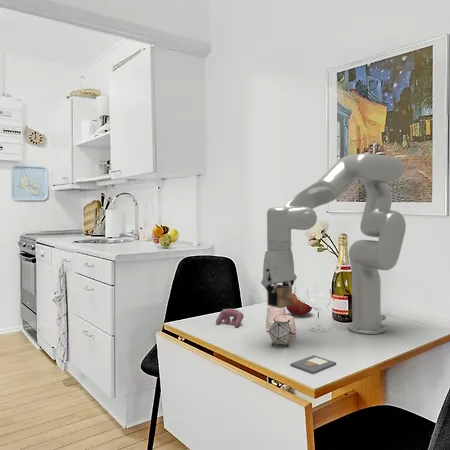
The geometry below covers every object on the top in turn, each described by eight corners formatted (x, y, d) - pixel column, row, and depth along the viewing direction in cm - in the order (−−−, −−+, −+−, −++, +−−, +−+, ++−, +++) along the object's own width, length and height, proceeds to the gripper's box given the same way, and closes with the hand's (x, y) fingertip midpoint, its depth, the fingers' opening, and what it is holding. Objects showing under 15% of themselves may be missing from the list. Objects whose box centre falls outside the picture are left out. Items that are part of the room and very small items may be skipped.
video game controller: (242, 330, 161) (246, 311, 164) (236, 327, 158) (240, 308, 160) (220, 326, 167) (224, 308, 169) (214, 323, 163) (218, 305, 165)
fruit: (309, 311, 179) (309, 287, 179) (316, 318, 170) (315, 292, 169) (284, 312, 179) (283, 288, 178) (289, 319, 169) (288, 293, 168)
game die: (285, 355, 140) (303, 329, 141) (280, 354, 132) (299, 326, 133) (263, 338, 144) (280, 313, 144) (257, 336, 136) (275, 309, 137)
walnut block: (279, 302, 142) (279, 284, 141) (292, 305, 137) (291, 286, 137) (267, 305, 138) (267, 286, 138) (280, 308, 134) (279, 289, 134)
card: (313, 357, 127) (313, 354, 127) (336, 364, 121) (336, 362, 121) (290, 365, 121) (290, 363, 121) (313, 374, 115) (313, 371, 115)
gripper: (288, 243, 145) (289, 297, 146) (251, 247, 134) (251, 305, 135) (306, 245, 139) (306, 301, 140) (268, 249, 129) (268, 309, 129)
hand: (279, 302), depth 138 cm, fingers closed on walnut block, 5 cm apart
